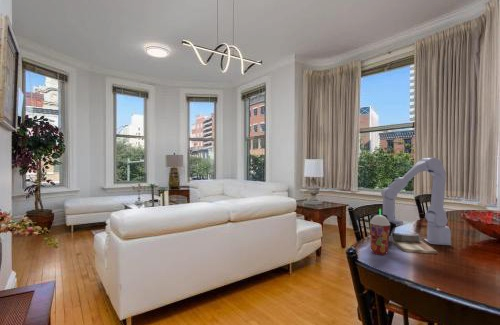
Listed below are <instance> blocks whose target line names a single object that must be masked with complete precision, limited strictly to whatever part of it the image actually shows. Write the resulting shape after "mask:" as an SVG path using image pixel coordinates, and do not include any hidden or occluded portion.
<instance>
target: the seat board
mask: <svg viewBox="0 0 500 325" xmlns="http://www.w3.org/2000/svg"><path fill="white" fill-rule="evenodd" d="M391 243H393V244H394V243H395V246H397V247H398V249H400V250H401V251H403V252H407V253H409V252H410V253H419V254H420V253H421V254H434V255H435V254H438V251H437V250H436V249H434V248H433V247H432V246H430V245H428V244H427V243H425V242H424V241H422V240H420V242H408V241H394V240H393V239H392V238H391Z"/></svg>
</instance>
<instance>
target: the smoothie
mask: <svg viewBox="0 0 500 325" xmlns="http://www.w3.org/2000/svg"><path fill="white" fill-rule="evenodd" d="M378 214H379V215H376V216H374V217H373V218H372V219H371V221H369V235H370V249H371V252H372V253H373V254H375V255H378V256H385V255H387V253H388V251H389V242H390V236H389V232H390V223H389V221H388V219H387V218H386V217H385V216H383V215H381V214H382V208H379V213H378Z"/></svg>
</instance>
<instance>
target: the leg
mask: <svg viewBox="0 0 500 325" xmlns="http://www.w3.org/2000/svg"><path fill="white" fill-rule="evenodd" d="M391 235H392V236H391V240H392V239H393V240H394V241H408V242H420V241H421V240H420V239H421V234H419V233H415V234H412V233H411V234H410V233H399V232H391Z"/></svg>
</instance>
